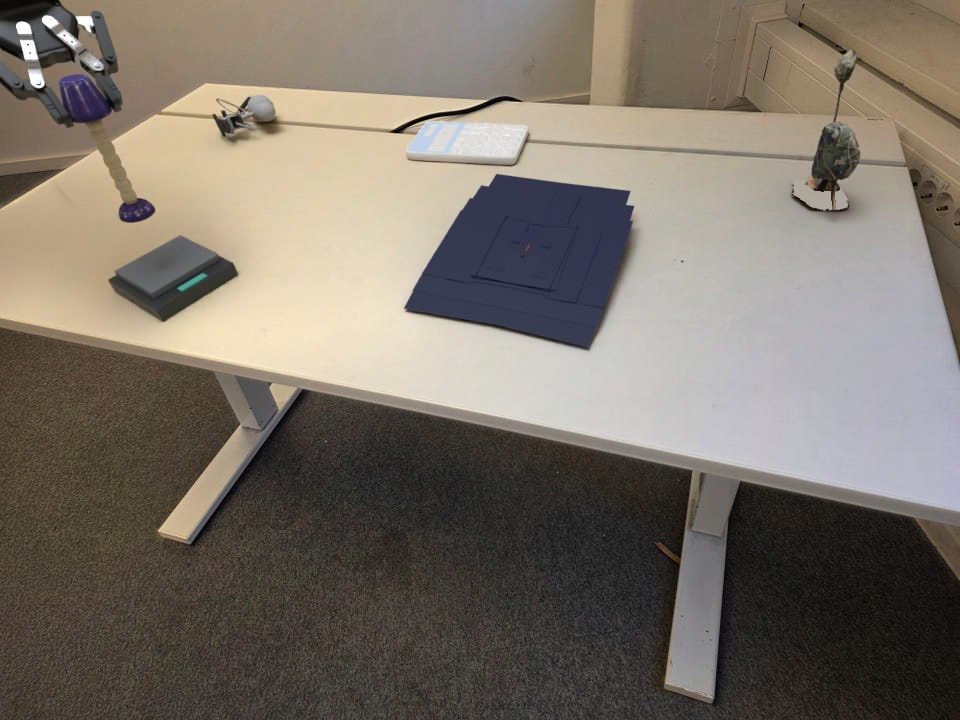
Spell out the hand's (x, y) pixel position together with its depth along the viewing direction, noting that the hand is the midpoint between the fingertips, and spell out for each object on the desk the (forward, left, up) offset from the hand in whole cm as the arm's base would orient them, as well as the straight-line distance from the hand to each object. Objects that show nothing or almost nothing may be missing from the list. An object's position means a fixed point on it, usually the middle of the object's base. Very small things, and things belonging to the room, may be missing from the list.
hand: (93, 115), depth 67 cm
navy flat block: (+30, -37, -24) cm, 54 cm away
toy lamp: (0, +2, -13) cm, 13 cm away
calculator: (+54, -8, -24) cm, 60 cm away
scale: (0, +2, -24) cm, 24 cm away
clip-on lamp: (+40, +38, -24) cm, 60 cm away
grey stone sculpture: (+65, -65, -24) cm, 95 cm away
